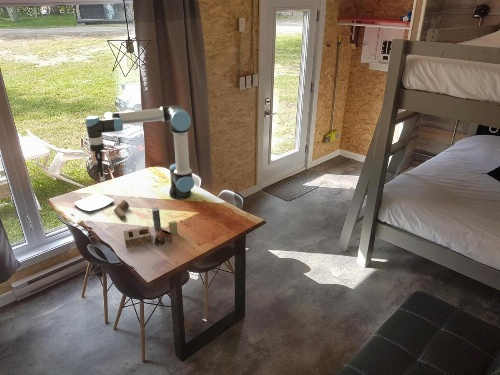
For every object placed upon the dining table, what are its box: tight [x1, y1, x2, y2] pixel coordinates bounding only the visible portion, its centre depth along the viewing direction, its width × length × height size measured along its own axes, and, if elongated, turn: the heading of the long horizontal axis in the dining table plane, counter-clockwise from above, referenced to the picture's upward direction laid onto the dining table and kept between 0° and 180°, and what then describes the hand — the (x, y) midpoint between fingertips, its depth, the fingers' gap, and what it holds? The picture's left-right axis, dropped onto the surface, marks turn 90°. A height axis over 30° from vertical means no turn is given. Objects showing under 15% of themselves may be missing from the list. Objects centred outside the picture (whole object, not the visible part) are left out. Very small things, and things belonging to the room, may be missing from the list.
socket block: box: [123, 226, 153, 249], centre depth 220 cm, size 14×10×5 cm
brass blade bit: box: [168, 220, 179, 236], centre depth 226 cm, size 4×2×8 cm, turn 112°
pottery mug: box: [153, 229, 173, 247], centre depth 217 cm, size 12×10×8 cm
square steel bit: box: [151, 206, 162, 232], centre depth 229 cm, size 4×4×14 cm
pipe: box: [113, 199, 130, 221], centre depth 247 cm, size 6×17×10 cm
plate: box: [73, 192, 115, 213], centre depth 258 cm, size 20×20×3 cm
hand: (102, 176), depth 232 cm, fingers open, 13 cm apart
